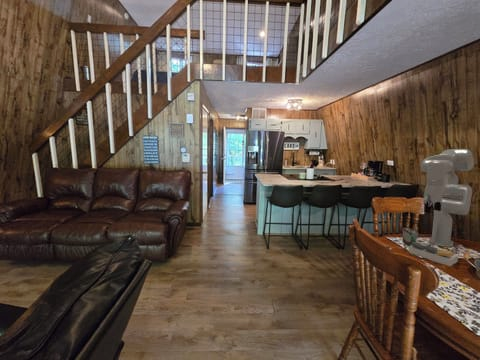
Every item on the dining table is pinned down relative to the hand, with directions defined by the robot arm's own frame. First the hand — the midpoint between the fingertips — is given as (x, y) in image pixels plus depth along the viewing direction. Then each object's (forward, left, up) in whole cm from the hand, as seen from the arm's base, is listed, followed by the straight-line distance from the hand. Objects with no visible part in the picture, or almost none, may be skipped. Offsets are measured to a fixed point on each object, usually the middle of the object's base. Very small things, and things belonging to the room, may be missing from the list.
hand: (432, 211), depth 130 cm
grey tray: (-2, +1, -28) cm, 28 cm away
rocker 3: (0, +8, -24) cm, 25 cm away
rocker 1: (0, -6, -24) cm, 24 cm away
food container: (-12, -14, -28) cm, 34 cm away
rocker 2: (0, +1, -24) cm, 24 cm away
